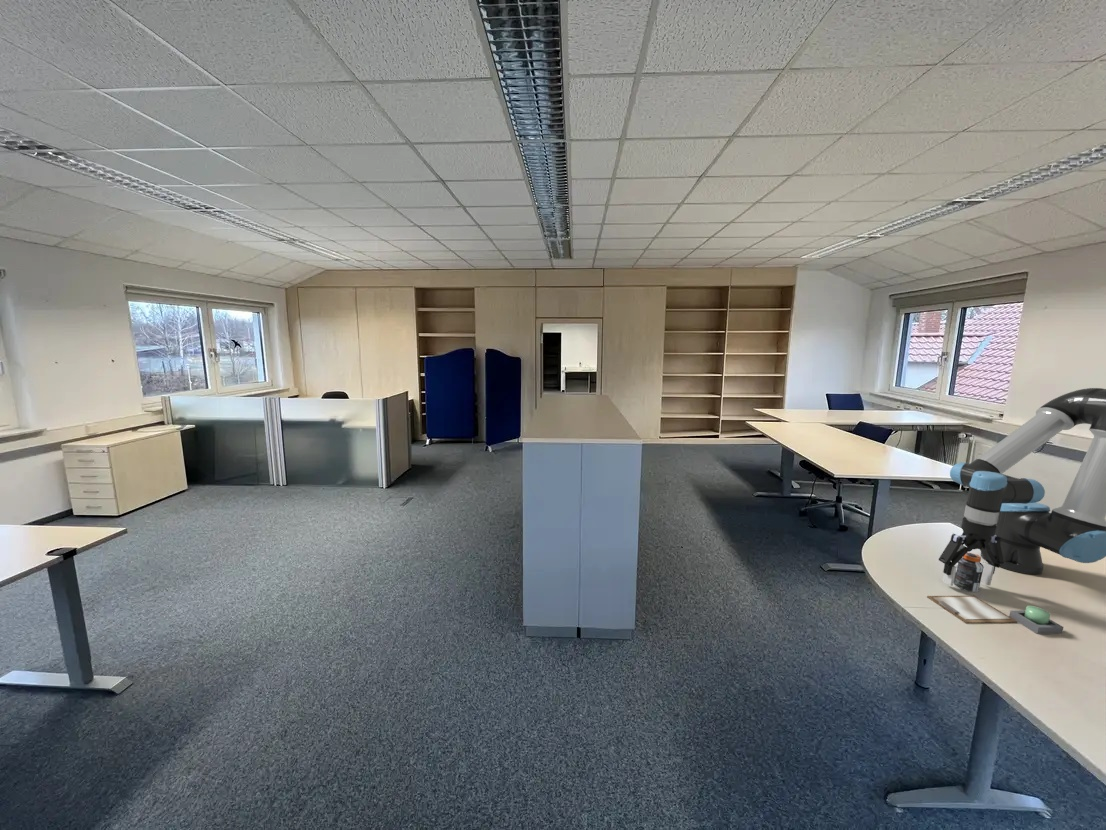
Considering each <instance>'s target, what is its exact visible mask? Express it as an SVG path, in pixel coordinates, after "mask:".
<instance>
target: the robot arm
mask: <svg viewBox="0 0 1106 830" xmlns="http://www.w3.org/2000/svg"><path fill="white" fill-rule="evenodd" d="M1081 424H1082V425H1085V424H1087V425H1090V426H1089V429H1088V430H1089V431H1090V433H1091V434H1092V435H1093V438H1092V440H1091V442H1090V445H1089V446H1088V449H1087V451H1086V454H1085V455H1084V457H1083V460H1082V463H1081V464H1080V466H1079V467H1078V471H1077V473H1076V476H1075V477H1074V479H1073V481H1072V484H1071V485H1070V488H1069V489H1068V490H1069V491H1068V492H1067V494H1066V497H1065V499H1064V501H1063V503H1062V505H1061V506H1059V507H1055V508H1052V510H1051V507H1050V506H1049V505H1047V504H1044V503H1039V502H1040V501H1042V500H1043V499H1044V498H1045V494H1046V491H1045V488H1044V486H1043V484H1041V482H1039V481H1038V480H1035V479H1032V478H1024V477H1023V478H1021V477H1020V478H1018V477H1013V476H1010V475H1007V474H1004V473H1005V472H1007V471H1008V470H1009V469H1011V468H1012V467H1013V466H1015V465H1017V464H1018V463H1019V462H1021V461H1022V460H1024V458H1026V457H1028V456H1029V455H1030V454H1032V453H1033V452H1035V450H1037V449H1038V448H1040V447H1041V446H1042V445H1044V444H1045V443H1046V442H1048V441H1049V440H1051V439H1052V438H1053V437H1054V436H1056V435H1058V434H1059V433H1061V432H1062V431H1068V430H1072V428H1074V427H1075V426H1078V425H1081ZM949 477H950V479H951V480H952V481H954V482H955V483H957V484H959V485H962V486H964V487H966V488H968V489H969V490H968V493H967V498H966V503H965V509H964V512H963V516H964V517H962V520H961V527H960V528H961V530H962V534H961V535H958V534H956V533H952V534H951V536H950V540H949V542H948V543H947V545H946V547H945V548H944V550H943V551H942V553H941V554H940V556H939V558H938V561H939V562H940V563H943V564H944V567H943V570H942V572H943V577H942V582H944V583H945V584H947V585H948V586H950V587H953V586H954V583H953V582H954V577H955V573H956V568H957V567H956V565H957V562H958V561H959V560H960V559H961V558H963V556H964V555H965V554H966V553H967V552H968V553H971V552H972V551H973V550H980V557H981V559H984V561H986V562H983V563H982V565H983V567H984V568H983V572H982V577H981V582H980V583H983V584H985V585H987V586H991V585H992V584H991V583H992V579H993V575H994V574H995V571H996V568H998V569H999V568H1002V569H1006V570H1008V571H1011V572H1016V573H1020V574H1026V575H1040V574H1043V570H1044V568H1045V566H1044V563H1043V558H1042V553H1041V548H1043V549H1045V550H1048V551H1049V552H1052V553H1055V554H1057V555H1058V556H1059V555H1060V556H1061V557H1063V558H1065V559H1069V560H1072V561H1075V562H1077V563H1081V564H1091V563H1096V562H1098V561H1100V560H1101V561H1102V560H1104V558H1106V519H1105V518H1106V388H1101V387H1089V388H1082V389H1077V390H1074V391H1070V392H1067V393H1064V394H1062V395H1060V396H1058V397H1055V398H1053V399H1051V400H1049V401H1047V402H1045V404H1043V405H1042V406H1040V407H1039V408H1038V409H1036V411H1035V415H1034V416H1033V417H1031V418H1030V419H1028V420H1027V421H1026V422H1025V423H1023V424H1022V425H1020V426H1019V427H1018V428H1016V429H1015V430H1014V431H1012V432H1011V433H1010V434H1009V435H1007V436H1005V437H1004V438H1003V439H1001V440H1000V441H999V442H997V443H996V444H994V446H992V447H990V448H989V449H988V450H987V451H985V452H984V453H983V454H981V455H979V457H977V458H976V459H975V460H973V461H972V462H970V463H968V462H958V463H956V464H954V465H953V466H952V467H951V468H950V471H949Z"/></svg>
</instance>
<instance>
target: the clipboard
mask: <svg viewBox="0 0 1106 830" xmlns="http://www.w3.org/2000/svg"><path fill="white" fill-rule="evenodd" d="M926 598H927V599H929V600H930V601H933V603H935V604H937V606H939V607H941V608H943V609H944V610H946V611H947V612H948V613H950V614H951V615H952V616H954V617H956V618H957V620H960V621H961V622H962V623H965V624H1011V623H1012V624H1013V623H1014V624H1017V623H1018V622H1017V621H1016V620H1014V619H1012V618H1011V617H1009V615H1007V614H1006V613H1005V612H1003V611H1001V610H1000V609H997V608H996V607H994V606H993V605H991V604H989V603H987V602H985V601H984V600H982V599H981V598H979V597H977V596H975V595H974V594H973V595H972V594H971V595H927V596H926Z"/></svg>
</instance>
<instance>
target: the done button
mask: <svg viewBox="0 0 1106 830" xmlns="http://www.w3.org/2000/svg"><path fill="white" fill-rule="evenodd" d="M1025 610H1026V611H1025ZM1025 610H1024V611H1025V615H1024V617H1026V618H1027V619H1029V620H1031V621H1032V622H1034V623H1036V624H1038V625H1048V622H1049V619H1051V613H1050V612H1049V611H1047V610H1046V609H1044V608H1041V607H1039V606H1035V605H1026V607H1025Z"/></svg>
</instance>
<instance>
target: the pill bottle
mask: <svg viewBox="0 0 1106 830" xmlns="http://www.w3.org/2000/svg"><path fill="white" fill-rule="evenodd" d="M981 560H982V557H981V555H978V554H976V553H972V552H967V553H966V554H965V555H964V556H963V557H962V558H961V559H960V560H959V561H958V562H957V563H956V565H955V567H957V568H956V573H955V577H954V582H953V586H956V587H957V588H958V589H961V590H963V591H966V592H970V593H976V592H978V591H979V590H980V585H981V583H982V582H981V577H982V572H983V568H984V567H983V563H982V562H981Z"/></svg>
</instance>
